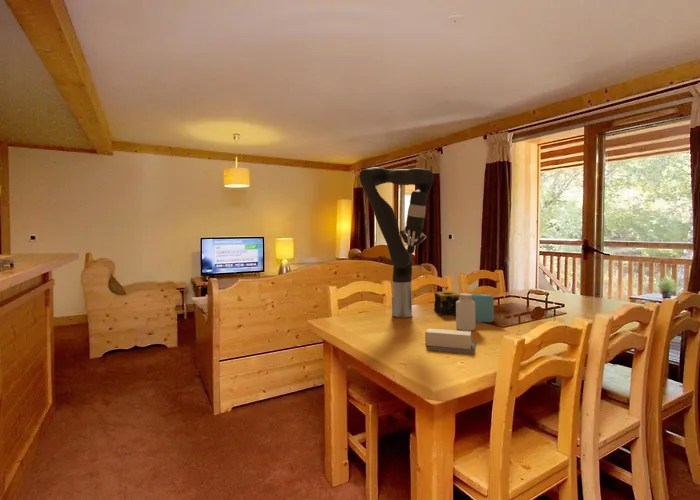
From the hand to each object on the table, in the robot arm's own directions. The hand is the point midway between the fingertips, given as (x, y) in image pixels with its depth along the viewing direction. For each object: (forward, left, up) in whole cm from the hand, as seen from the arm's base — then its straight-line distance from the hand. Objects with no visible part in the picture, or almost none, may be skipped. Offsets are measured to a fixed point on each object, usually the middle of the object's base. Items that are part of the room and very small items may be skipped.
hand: (410, 253), depth 171 cm
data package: (+29, +14, -32) cm, 46 cm away
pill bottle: (+24, -1, -32) cm, 40 cm away
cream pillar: (+11, -26, -29) cm, 41 cm away
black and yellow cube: (+13, +26, -33) cm, 44 cm away
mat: (+21, -26, -32) cm, 46 cm away
